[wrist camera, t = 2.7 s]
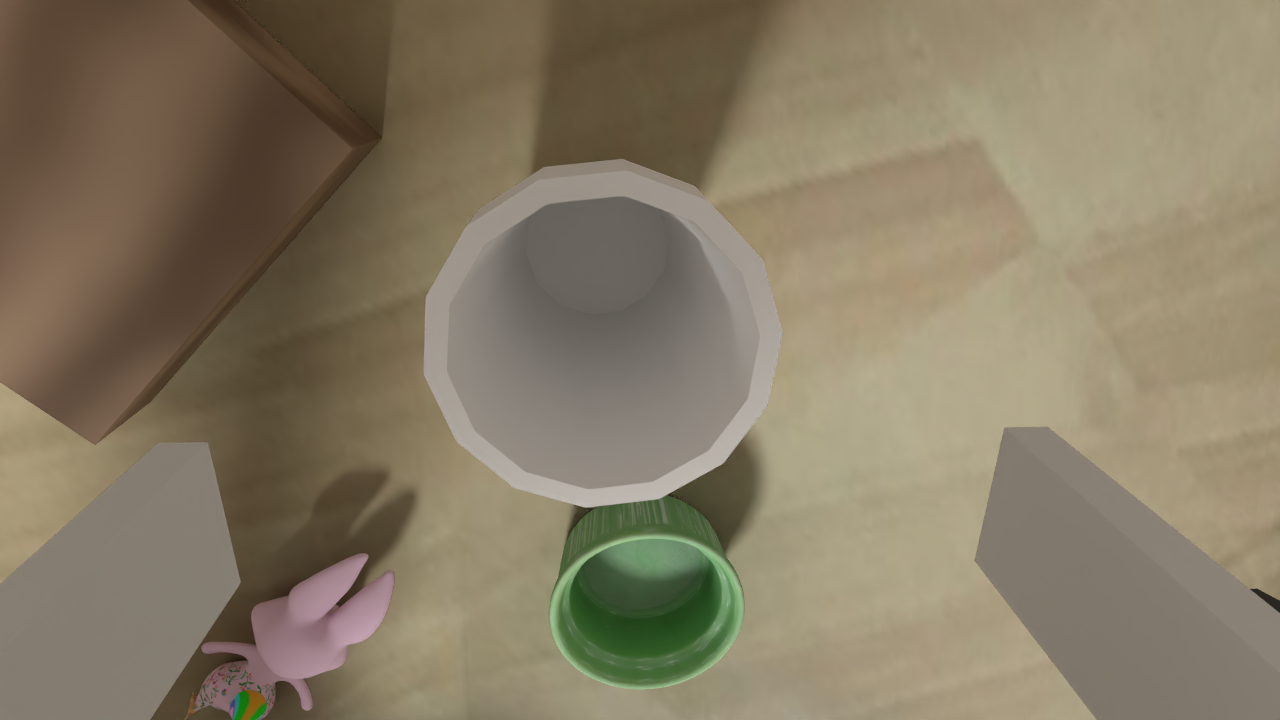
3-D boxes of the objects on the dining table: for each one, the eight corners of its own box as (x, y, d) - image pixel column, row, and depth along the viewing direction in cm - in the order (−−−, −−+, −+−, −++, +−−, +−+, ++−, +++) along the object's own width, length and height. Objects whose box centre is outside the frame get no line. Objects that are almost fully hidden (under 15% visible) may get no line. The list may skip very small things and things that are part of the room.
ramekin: (516, 569, 38) (508, 630, 33) (631, 447, 35) (637, 497, 31) (649, 652, 40) (656, 719, 36) (764, 543, 38) (785, 601, 34)
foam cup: (561, 79, 29) (543, 90, 17) (749, 207, 31) (851, 296, 19) (446, 278, 32) (360, 410, 20) (627, 382, 34) (651, 557, 22)
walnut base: (381, 137, 29) (352, 148, 26) (150, 401, 33) (94, 445, 29) (-10, -223, 24) (-117, -274, 21) (-234, 133, 28) (-361, 143, 24)
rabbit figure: (285, 708, 42) (444, 573, 36) (228, 816, 36) (404, 677, 31) (185, 652, 40) (336, 499, 34) (109, 757, 34) (274, 597, 29)
